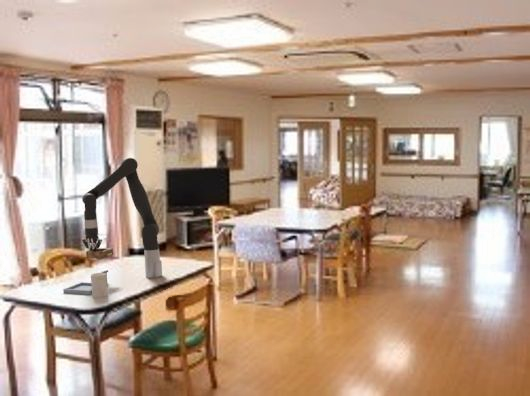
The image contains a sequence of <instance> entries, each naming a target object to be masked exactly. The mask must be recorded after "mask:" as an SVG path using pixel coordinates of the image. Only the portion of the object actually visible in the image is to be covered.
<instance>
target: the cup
mask: <svg viewBox="0 0 530 396" xmlns="http://www.w3.org/2000/svg"><path fill="white" fill-rule="evenodd" d="M90 283H91V285H92V294H91V296H92V298H94V299H98V298H99V299H100V297H101V298H104V297H108V296H109V295H108V288H107V284H108V279H107V280H106V273H101V272H96V273H91V274H90Z"/></svg>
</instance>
